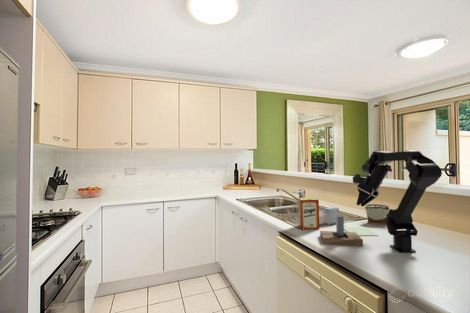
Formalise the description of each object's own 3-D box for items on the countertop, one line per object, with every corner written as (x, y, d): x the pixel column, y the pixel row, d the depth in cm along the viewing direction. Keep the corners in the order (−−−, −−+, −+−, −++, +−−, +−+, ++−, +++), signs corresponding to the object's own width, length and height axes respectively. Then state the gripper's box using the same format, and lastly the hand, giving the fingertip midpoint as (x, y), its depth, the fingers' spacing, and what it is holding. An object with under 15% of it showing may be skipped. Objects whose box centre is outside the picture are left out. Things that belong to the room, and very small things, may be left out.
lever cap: (346, 243, 103) (345, 217, 103) (336, 242, 103) (336, 217, 103) (343, 239, 107) (343, 214, 107) (334, 238, 108) (334, 214, 108)
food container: (386, 221, 133) (385, 204, 133) (390, 224, 127) (389, 206, 127) (362, 220, 136) (362, 203, 136) (365, 223, 130) (364, 205, 130)
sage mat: (377, 235, 110) (377, 235, 110) (352, 236, 111) (352, 235, 111) (363, 226, 124) (363, 226, 124) (340, 227, 125) (340, 226, 125)
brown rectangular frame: (362, 246, 99) (362, 240, 99) (323, 243, 102) (323, 238, 102) (356, 237, 109) (356, 232, 109) (320, 236, 112) (320, 230, 112)
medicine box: (333, 221, 137) (333, 206, 137) (339, 223, 132) (339, 208, 132) (323, 222, 134) (322, 207, 134) (328, 224, 130) (328, 209, 130)
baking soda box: (301, 229, 123) (300, 199, 123) (298, 225, 130) (298, 197, 130) (319, 229, 122) (318, 199, 122) (316, 225, 129) (315, 197, 129)
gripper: (363, 172, 120) (348, 198, 122) (355, 165, 106) (338, 195, 108) (386, 182, 113) (369, 209, 115) (380, 177, 99) (361, 208, 101)
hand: (359, 205), depth 110 cm, fingers open, 9 cm apart
